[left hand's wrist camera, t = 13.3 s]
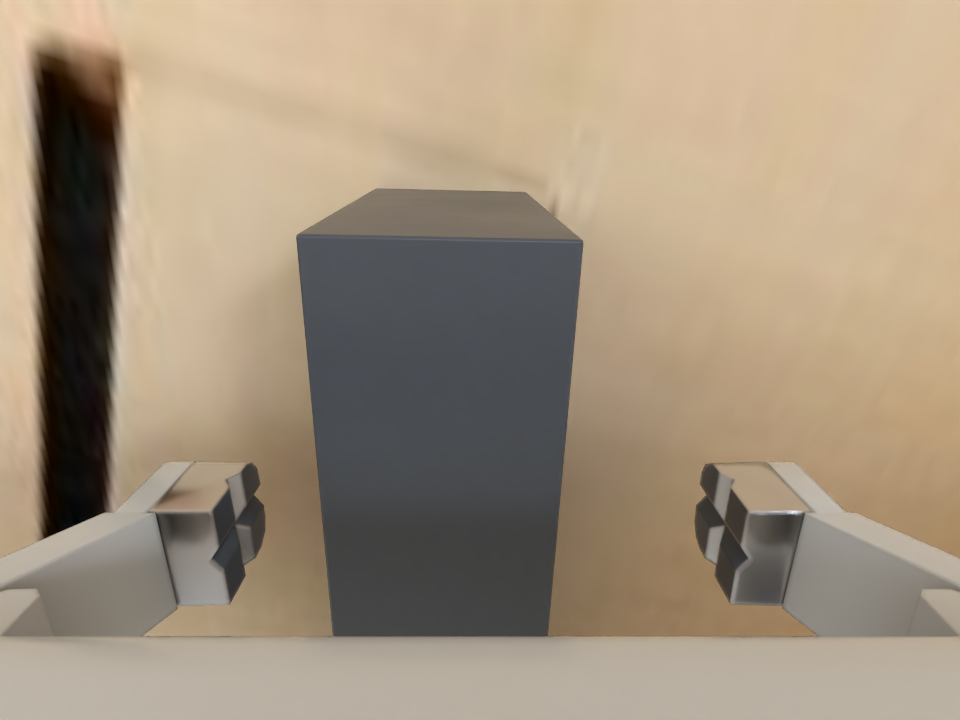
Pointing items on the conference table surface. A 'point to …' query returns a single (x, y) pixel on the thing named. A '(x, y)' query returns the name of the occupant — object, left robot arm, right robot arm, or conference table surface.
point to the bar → (440, 407)
